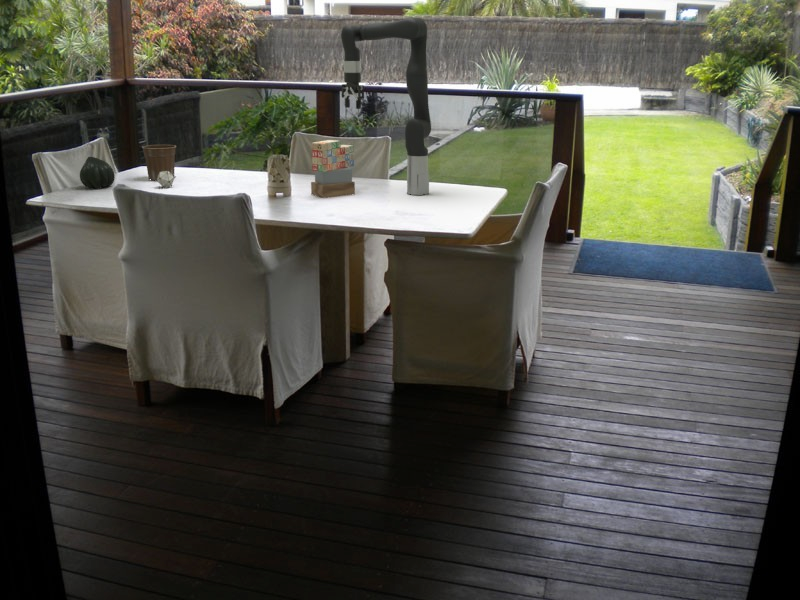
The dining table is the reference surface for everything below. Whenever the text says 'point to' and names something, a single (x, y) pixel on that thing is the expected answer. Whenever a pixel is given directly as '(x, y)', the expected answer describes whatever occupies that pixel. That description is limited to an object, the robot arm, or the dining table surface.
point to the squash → (96, 173)
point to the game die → (165, 178)
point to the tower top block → (334, 176)
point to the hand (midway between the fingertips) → (352, 108)
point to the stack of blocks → (331, 155)
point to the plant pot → (159, 159)
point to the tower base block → (332, 189)
